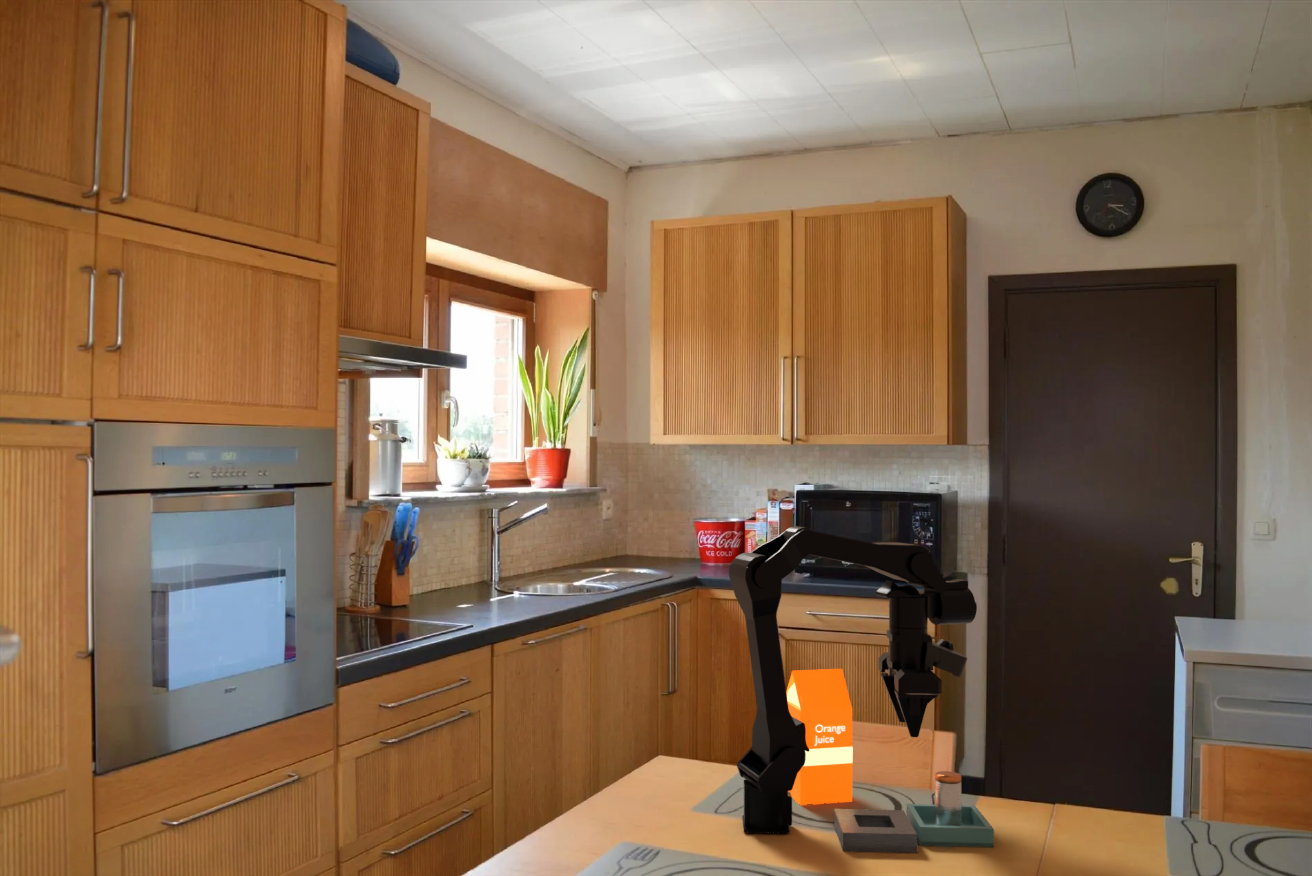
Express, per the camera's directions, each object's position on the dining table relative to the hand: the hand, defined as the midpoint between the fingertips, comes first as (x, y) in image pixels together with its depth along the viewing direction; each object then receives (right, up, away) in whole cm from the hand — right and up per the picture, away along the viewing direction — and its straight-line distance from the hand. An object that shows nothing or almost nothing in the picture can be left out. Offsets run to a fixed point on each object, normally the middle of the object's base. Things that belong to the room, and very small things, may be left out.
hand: (908, 729), depth 158 cm
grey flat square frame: (-8, -12, -12) cm, 19 cm away
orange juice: (-13, -13, +7) cm, 19 cm away
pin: (+3, -12, -10) cm, 15 cm away
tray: (+3, -12, -10) cm, 16 cm away
